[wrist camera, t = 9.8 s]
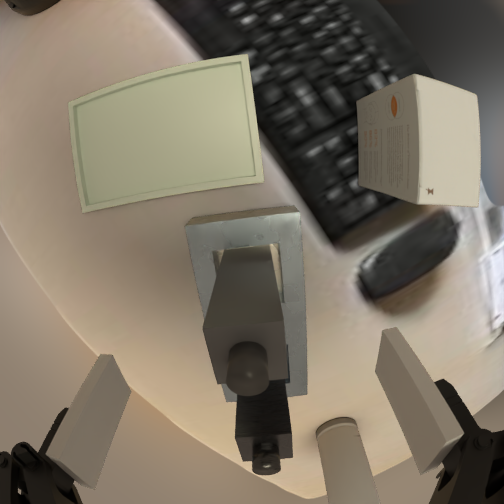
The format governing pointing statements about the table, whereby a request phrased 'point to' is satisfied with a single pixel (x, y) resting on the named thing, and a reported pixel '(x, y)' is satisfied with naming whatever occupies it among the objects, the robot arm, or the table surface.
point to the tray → (166, 134)
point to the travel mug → (345, 464)
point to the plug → (246, 322)
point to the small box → (421, 142)
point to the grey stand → (294, 313)
